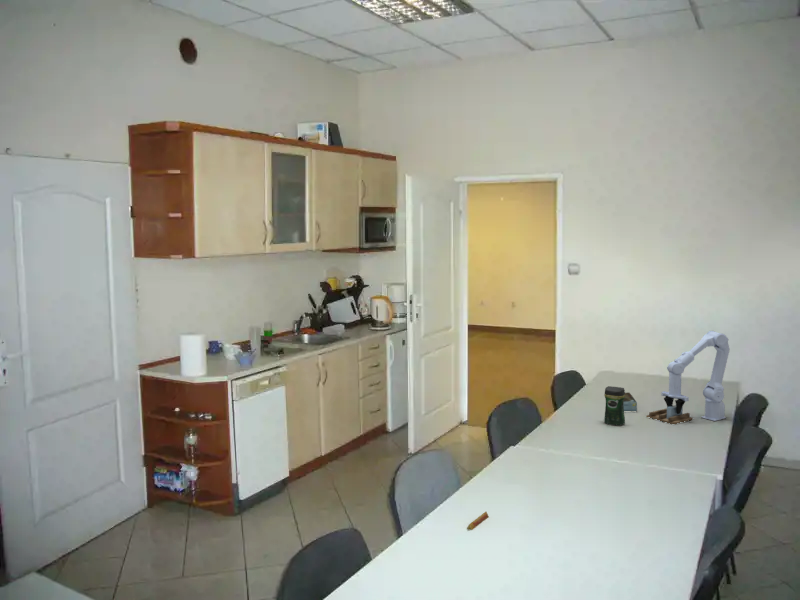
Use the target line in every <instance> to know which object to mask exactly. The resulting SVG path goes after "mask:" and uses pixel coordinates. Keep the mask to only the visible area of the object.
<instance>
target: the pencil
mask: <svg viewBox="0 0 800 600" xmlns="http://www.w3.org/2000/svg"><path fill="white" fill-rule="evenodd" d="M488 518H490V517H489V514H488V513H487V511H485V512H484V513H482V514H481V515H479V516H478V517H477V518H475V519H474V520H472V521H471V522H470V523H469V524H468V526H467V527H466V529H467V530H469V531H470V530H471V531H473V530H474V529H475V528H477V527H478V526H479V525H480V524H482V523H484V521H486V520H487V519H488Z"/></svg>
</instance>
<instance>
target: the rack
mask: <svg viewBox="0 0 800 600" xmlns="http://www.w3.org/2000/svg"><path fill="white" fill-rule="evenodd" d="M690 415H691V413H690V412H686V413H682V414H681V415H677V416H673V417H669V418H668V419H667V407H666V408H661V409H658V410H653V411H650V412H649V413H648V414H647V415H646V417H650V418H653V419H652V420H654V419H657V420H660V421H659V422H661V421H663V422H662V423H665V422H667V423H666V424H668V423H670V424H669V425H672V424H675V425H678V424H677V423H679V424H681V423H680V422H683V423H685V422H684V421H686V422H689V421H688V420H690V421H693V420H694V419H693V417H691V416H690ZM646 417H645V418H646ZM650 418H649V419H650ZM692 419H693V420H692ZM657 420H656V421H657Z"/></svg>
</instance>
